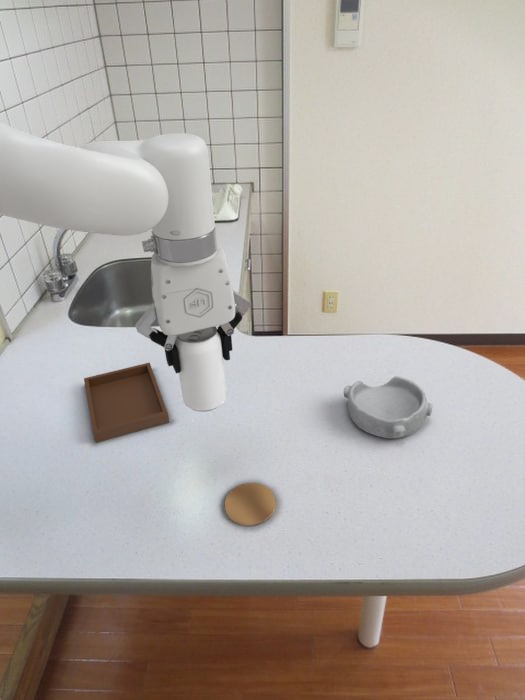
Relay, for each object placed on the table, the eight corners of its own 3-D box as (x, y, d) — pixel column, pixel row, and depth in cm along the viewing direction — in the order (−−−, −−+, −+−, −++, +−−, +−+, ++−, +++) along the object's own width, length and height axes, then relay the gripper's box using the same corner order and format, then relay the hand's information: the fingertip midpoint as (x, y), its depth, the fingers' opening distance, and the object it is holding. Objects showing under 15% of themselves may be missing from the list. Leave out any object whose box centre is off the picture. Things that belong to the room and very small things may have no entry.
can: (232, 388, 80) (226, 321, 73) (218, 416, 75) (211, 346, 68) (192, 383, 82) (183, 316, 75) (176, 409, 77) (165, 341, 70)
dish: (333, 407, 101) (334, 386, 98) (391, 384, 105) (394, 364, 103) (380, 455, 90) (383, 434, 87) (442, 427, 95) (447, 406, 92)
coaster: (257, 534, 78) (256, 532, 77) (214, 511, 82) (214, 509, 81) (285, 498, 83) (285, 496, 83) (244, 477, 87) (244, 475, 87)
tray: (169, 422, 99) (167, 412, 97) (95, 442, 95) (93, 433, 94) (151, 371, 112) (149, 362, 111) (86, 387, 109) (83, 378, 107)
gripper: (119, 268, 59) (145, 392, 69) (262, 241, 64) (267, 360, 74) (109, 244, 65) (134, 362, 75) (241, 221, 70) (248, 334, 80)
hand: (200, 360), depth 74 cm, fingers closed on can, 6 cm apart
